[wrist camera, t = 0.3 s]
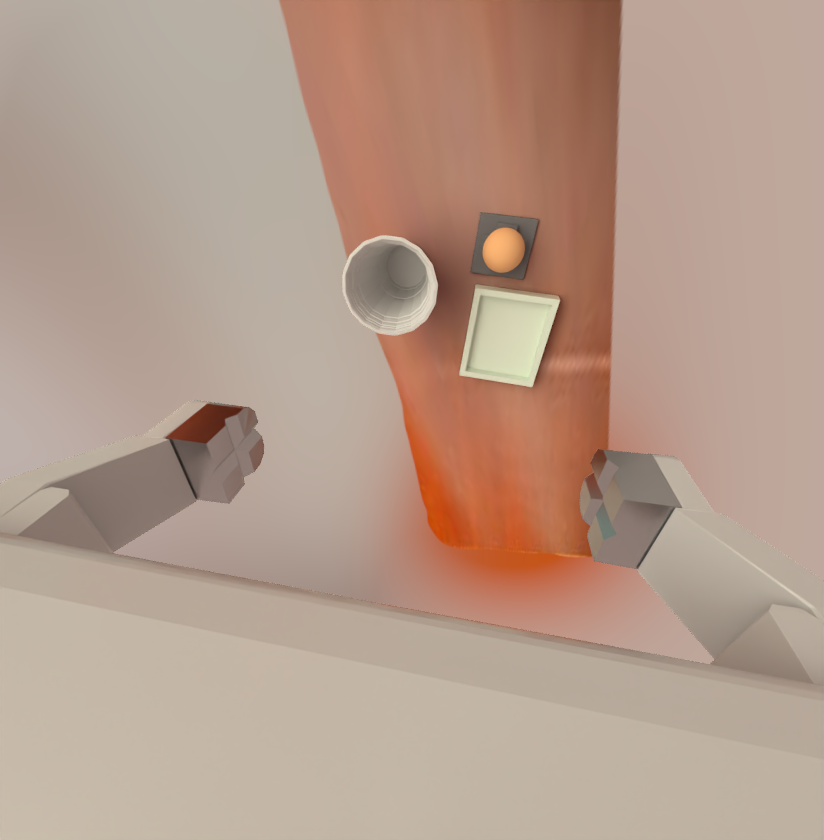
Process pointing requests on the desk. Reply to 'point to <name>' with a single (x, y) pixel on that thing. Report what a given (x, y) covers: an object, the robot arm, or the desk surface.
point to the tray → (507, 334)
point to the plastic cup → (389, 285)
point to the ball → (503, 250)
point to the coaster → (495, 222)
